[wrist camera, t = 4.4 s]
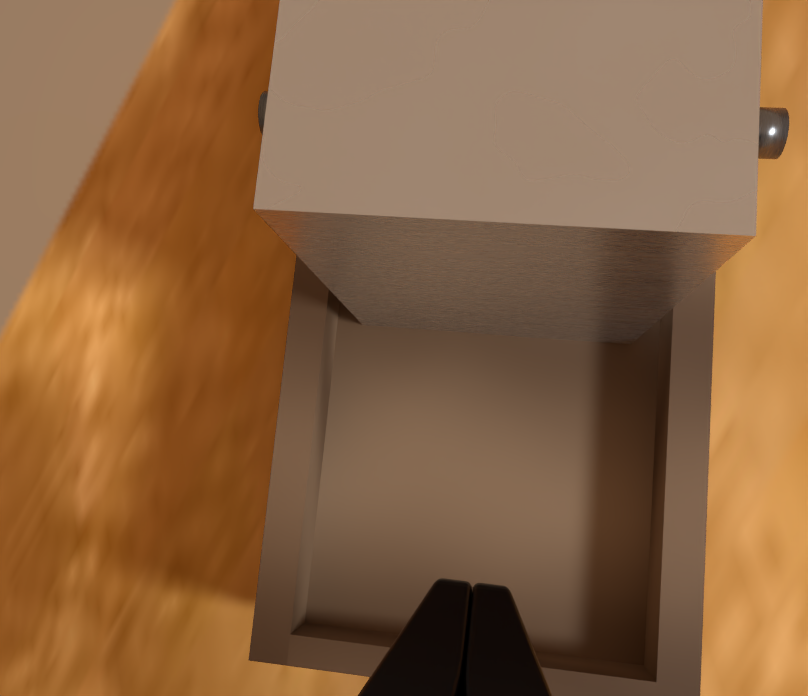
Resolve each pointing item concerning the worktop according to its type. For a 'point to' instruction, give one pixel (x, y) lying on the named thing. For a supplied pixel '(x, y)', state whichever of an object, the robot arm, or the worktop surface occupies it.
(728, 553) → the worktop surface
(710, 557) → the worktop surface
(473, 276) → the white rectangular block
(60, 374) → the worktop surface
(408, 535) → the wooden serving tray
